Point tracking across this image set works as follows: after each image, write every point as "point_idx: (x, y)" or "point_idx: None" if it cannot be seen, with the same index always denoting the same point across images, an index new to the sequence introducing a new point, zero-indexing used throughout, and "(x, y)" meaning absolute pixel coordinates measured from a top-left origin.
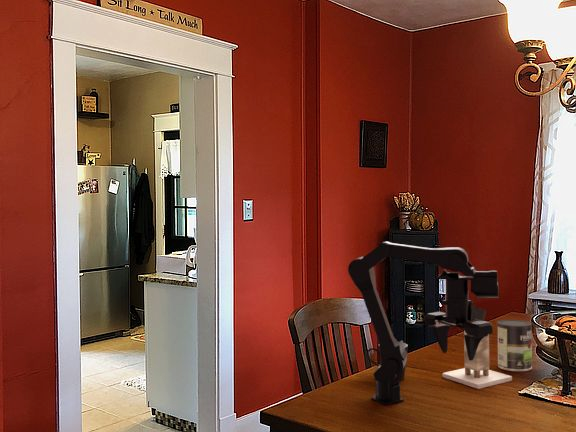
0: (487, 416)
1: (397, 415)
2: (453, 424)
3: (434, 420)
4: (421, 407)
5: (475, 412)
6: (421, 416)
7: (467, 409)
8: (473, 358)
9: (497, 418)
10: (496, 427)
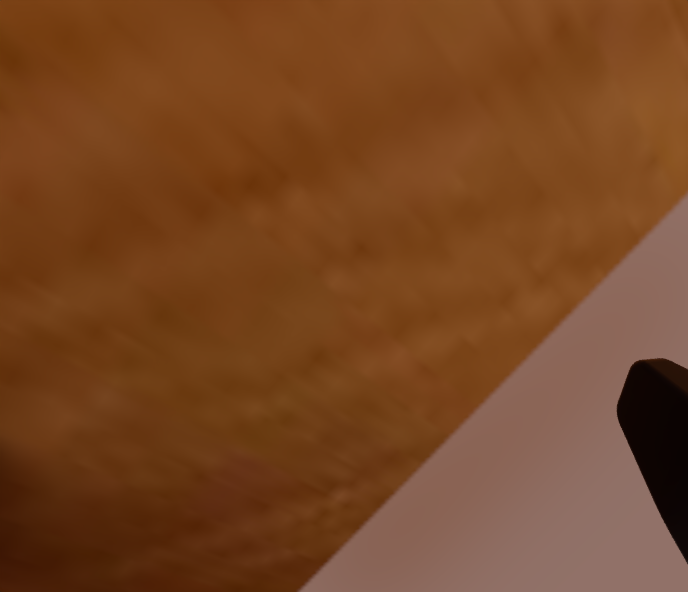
0: (547, 90)
1: (177, 515)
2: (473, 362)
3: (361, 407)
4: (122, 350)
5: (436, 101)
6: (266, 430)
7: (350, 102)
8: (686, 376)
9: (622, 60)
10: (684, 197)
